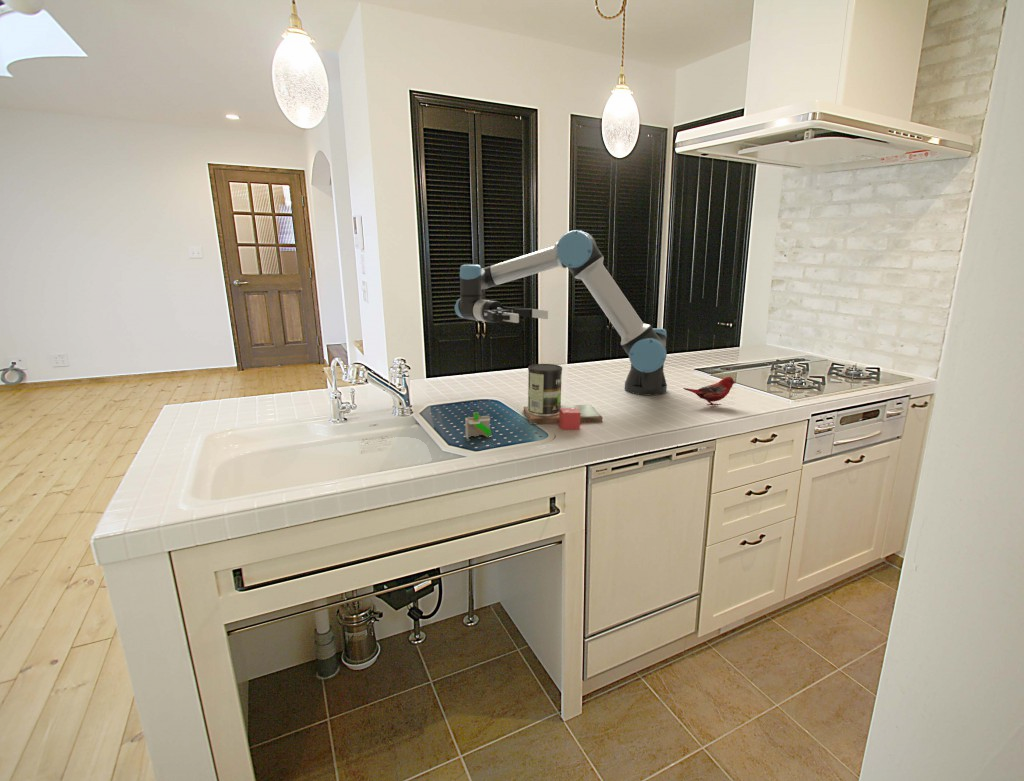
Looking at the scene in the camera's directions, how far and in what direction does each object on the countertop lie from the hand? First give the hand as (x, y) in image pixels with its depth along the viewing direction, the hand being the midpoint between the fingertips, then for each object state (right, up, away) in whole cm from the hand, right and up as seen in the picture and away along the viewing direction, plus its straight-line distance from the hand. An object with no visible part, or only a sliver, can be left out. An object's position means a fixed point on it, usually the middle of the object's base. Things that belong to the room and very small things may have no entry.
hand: (533, 316), depth 169 cm
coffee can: (+3, -30, -7) cm, 32 cm away
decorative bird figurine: (+58, -29, +6) cm, 66 cm away
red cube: (+10, -34, -16) cm, 39 cm away
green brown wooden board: (+9, -32, -6) cm, 34 cm away
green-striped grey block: (-16, -37, -24) cm, 47 cm away
